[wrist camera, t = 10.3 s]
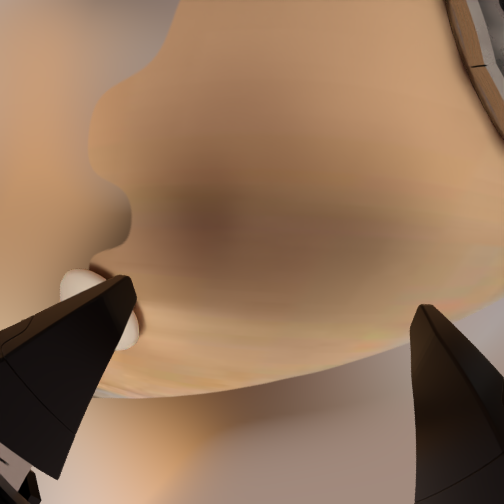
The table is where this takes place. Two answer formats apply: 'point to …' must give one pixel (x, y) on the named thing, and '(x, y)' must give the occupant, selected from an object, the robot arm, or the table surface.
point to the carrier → (482, 50)
